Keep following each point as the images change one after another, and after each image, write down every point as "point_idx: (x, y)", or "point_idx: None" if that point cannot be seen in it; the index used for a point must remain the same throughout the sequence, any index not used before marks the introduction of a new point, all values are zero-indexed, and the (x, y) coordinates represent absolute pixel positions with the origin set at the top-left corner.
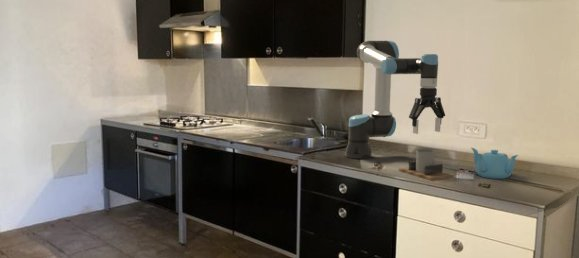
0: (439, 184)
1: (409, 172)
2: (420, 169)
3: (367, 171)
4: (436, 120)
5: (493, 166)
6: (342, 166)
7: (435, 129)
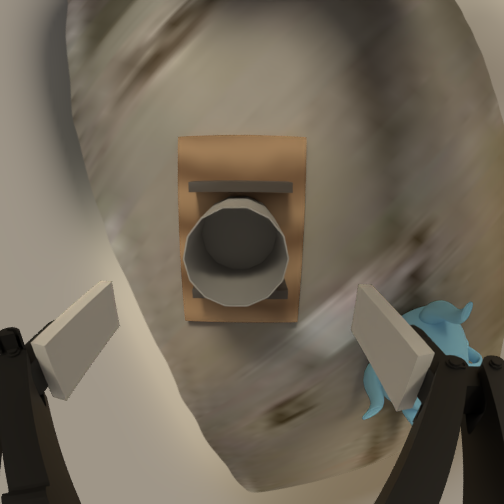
0: (180, 360)
1: (179, 206)
2: (202, 247)
3: (78, 105)
4: (398, 353)
5: (386, 397)
6: (68, 20)
7: (363, 297)
